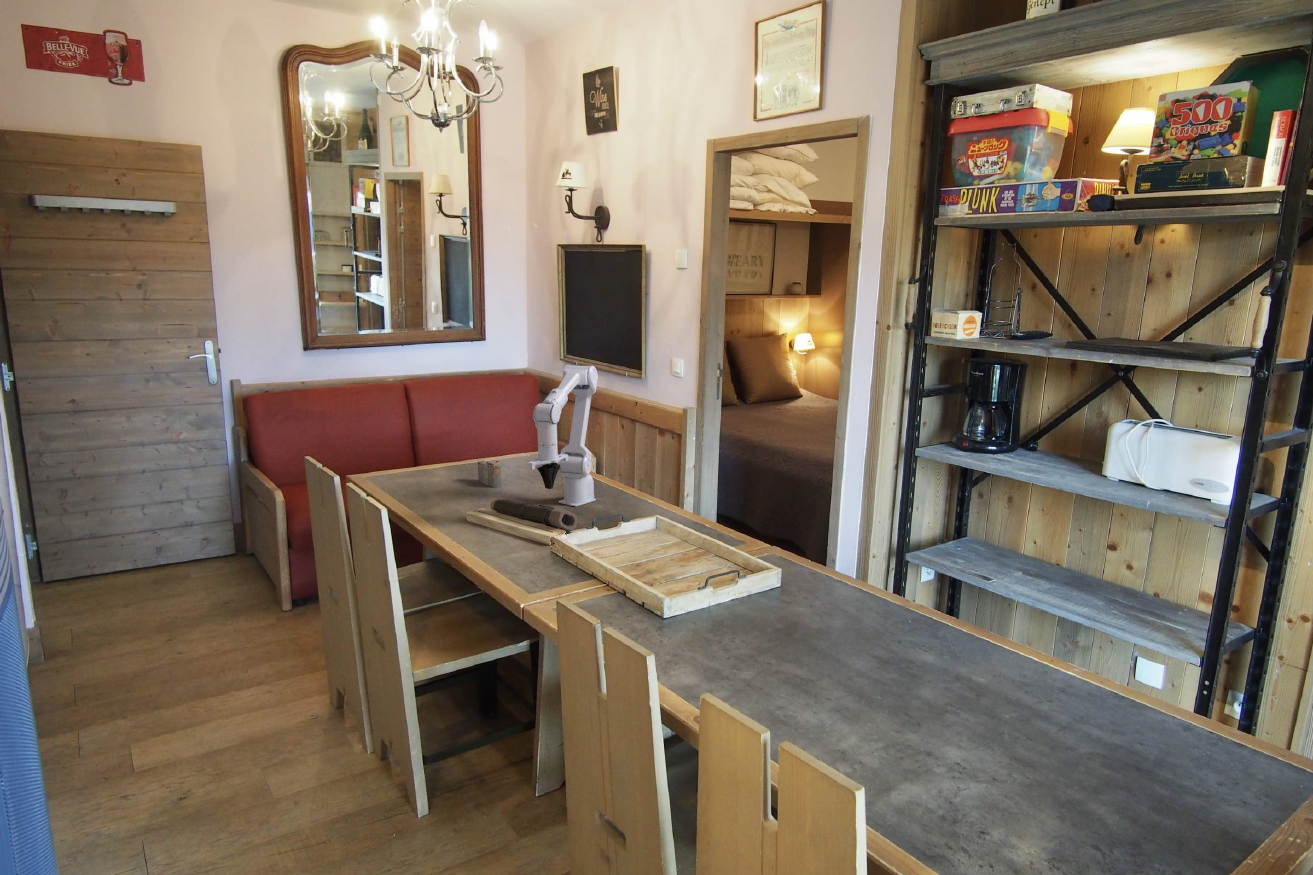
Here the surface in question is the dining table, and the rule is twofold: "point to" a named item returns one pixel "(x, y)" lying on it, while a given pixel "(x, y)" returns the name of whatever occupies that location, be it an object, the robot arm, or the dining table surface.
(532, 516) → the tube
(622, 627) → the dining table surface
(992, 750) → the dining table surface
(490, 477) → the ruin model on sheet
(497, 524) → the plank
